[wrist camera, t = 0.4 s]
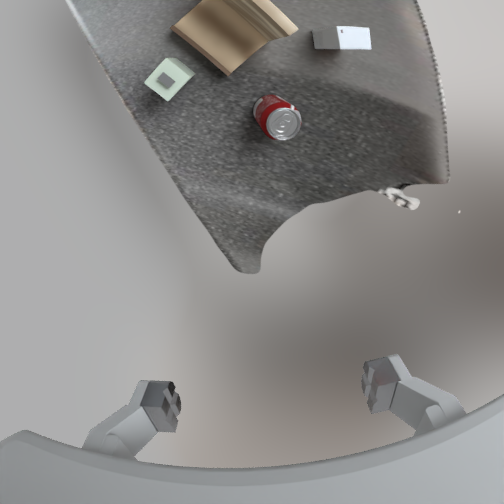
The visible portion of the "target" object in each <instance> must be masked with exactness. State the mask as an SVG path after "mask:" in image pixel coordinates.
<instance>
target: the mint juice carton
mask: <svg viewBox="0 0 504 504" xmlns="http://www.w3.org/2000/svg"><path fill="white" fill-rule="evenodd" d="M194 75H195V73H194V72H193V71H192V70H191V69H189V68H188V67H187V66H186V65H185V64H183V63H182V62H181V61H180V60H178V59H177V58H166V59H165V60H164V61H163V62H162V63H161V64H160V65H159V66H158V67H157V68H156V69H155V71H154V72H153V73H152V74H151V75H150V76H149V77H148V78H147V80H146V81H145V82H144V83H145V84H146V85H147V86H149V87H150V88H151V89H153V90H154V91H155V92H156V93H158V94H159V95H160V96H161V97H163V98H164V99H165V100H166V101H169V100H170V99H171V98H172V97H173V96H174V95H175V94H176V93H177V92H178V91H179V90H180V89H181V88H182V87H183V86H184V85H185V84H186V83H187V82H188V81H189V80H190V79H191V78H192V77H193V76H194Z"/></svg>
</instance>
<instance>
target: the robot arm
mask: <svg viewBox="0 0 504 504" xmlns="http://www.w3.org/2000/svg"><path fill="white" fill-rule="evenodd" d="M363 369H364V372H365V373H364V374H363V375H362V380H361V382H362V390H363V393H364V396H366V397H368V401H367V404H368V407H369V409H370V412H371V414H373V413H378V412H382V411H386V410H390V411H391V412H392V413H394V414H395V415H396V416H398V417H399V418H400V419H402V420H403V421H405V422H406V423H407V424H408V425H410V426H411V427H413V428H414V429H415V430H416V432H415V434H414V436H413V437H410V438H408V439H405V440H402V441H399V442H395V443H392V444H389V445H386V446H382V447H379V448H375V449H371V450H368V451H364V452H359V453H355V454H351V455H346V456H342V457H337V458H331V459H326V460H320V461H315V462H308V463H300V464H292V465H283V466H271V467H257V468H199V467H183V466H172V465H163V464H154V463H147V462H140V461H138V460H137V459H136V458H135V457H134V456H135V455H136V454H137V453H138V452H139V451H140V450H141V449H142V448H143V447H144V446H145V445H146V444H147V443H148V442H149V441H150V440H151V439H152V438H153V437H154V436H155V435H156V434H157V432H175V431H176V427H177V423H178V420H177V418H176V416H178V415H179V414H180V411H181V400H180V397H179V394H178V393H176V392H175V391H174V390H175V386H174V383H173V382H171V381H147V380H141V381H139V382H138V385H137V387H136V389H135V392H134V394H133V396H132V398H131V401H130V403H129V405H125V406H124V407H122V408H121V409H120V410H118V411H117V412H115V413H114V414H112V415H111V416H110V417H108V418H107V419H105V420H104V421H102V422H101V423H100V424H98V425H97V426H96V427H94V428H92V429H91V430H90V432H89V434H88V436H87V438H86V440H85V443H84V445H83V447H82V449H81V448H77V447H74V446H71V445H67V444H64V443H61V442H58V441H55V440H52V439H50V438H47V437H44V436H41V435H39V434H36V433H34V432H31V431H28V430H22V431H20V432H17V433H15V434H13V435H11V436H9V437H8V438H6V439H4V440H2V441H1V442H0V504H504V394H503V395H501V396H499V397H498V398H496V399H494V400H493V401H491V402H489V403H487V404H485V405H484V406H482V407H480V408H478V409H476V410H474V411H472V412H470V413H468V414H466V412H465V411H464V409H463V407H462V406H461V404H460V403H459V401H458V400H457V398H456V397H455V396H454V395H452V394H450V393H447V392H446V391H444V390H442V389H440V388H437V387H435V386H433V385H431V384H429V383H427V382H425V381H423V380H421V379H419V378H417V377H412V376H411V375H410V373H409V371H408V370H407V368H406V366H405V365H404V363H403V362H402V360H401V358H400V357H399V355H397V354H394V355H391V356H387V357H383V358H378V359H374V360H370V361H365V363H364V366H363Z"/></svg>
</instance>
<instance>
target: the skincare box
mask: <svg viewBox="0 0 504 504" xmlns="http://www.w3.org/2000/svg"><path fill="white" fill-rule="evenodd" d="M312 34H313V40H314V47H315V49H346V50H355V49H359V50H371V40H370V31H369V28H364V27H349V26H334V27H328V28H322V29H316V30H312Z"/></svg>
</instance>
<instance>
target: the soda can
mask: <svg viewBox="0 0 504 504" xmlns="http://www.w3.org/2000/svg"><path fill="white" fill-rule="evenodd" d="M253 114H254V117H255V119H256V121H257V122H258V124H259V125H260V127H261V129H262V130H263V132H264V133H265V134H266V135H267V136H268V137H269V138H271V139H274V140H278V141H283V140H288V139H291V138H293V137H294V136H295V135H296V134H297V133H298V131H299V129H300V126H301V116H300V113H299V111H298V110H297V109H296V108H295V107H294V106H293V105H291V104H290V103H288V102H287V101H285V100H284V99H282V98H280V97H279V96H276V95H266V96H263V97H261V98H260V99H259V100H258V101H257V102H256V103H255V105H254V108H253Z"/></svg>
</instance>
